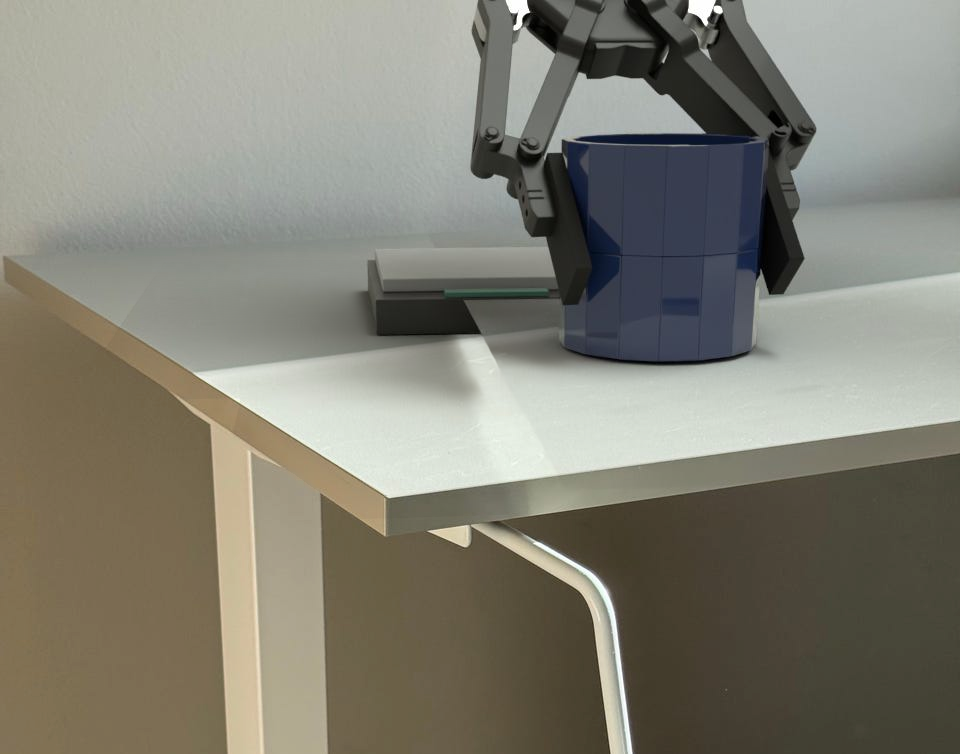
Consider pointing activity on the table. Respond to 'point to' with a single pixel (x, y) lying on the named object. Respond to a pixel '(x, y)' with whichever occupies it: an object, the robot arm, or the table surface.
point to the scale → (451, 285)
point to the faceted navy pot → (667, 244)
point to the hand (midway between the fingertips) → (683, 282)
